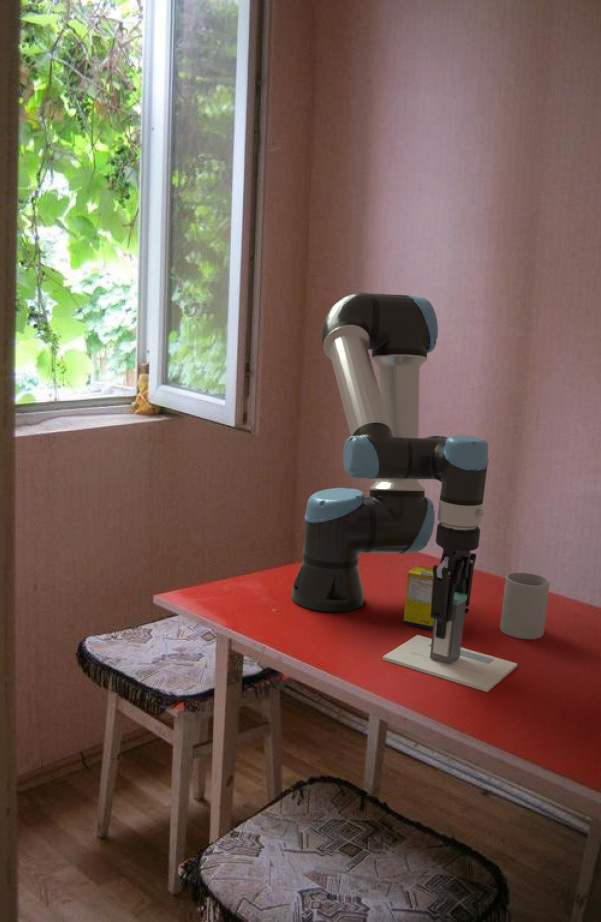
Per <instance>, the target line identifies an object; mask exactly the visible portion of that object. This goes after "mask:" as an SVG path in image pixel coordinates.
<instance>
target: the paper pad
mask: <svg viewBox="0 0 601 922" xmlns="http://www.w3.org/2000/svg"><path fill="white" fill-rule="evenodd" d="M431 643H432V638H430V637H427V636H422V635H420V634H416V635H415V636H413V637H412V638H410V639H409V640H408V641H406V642H404V643H403V644H401V645H399V646H397V647H396V648H395V649H393V650H392V651H389V652H387V653H386V654H385V655H383V656H382V660H383V661H385V662H389V663H391V664H395V665H399V666H402V667H404V668H409V669H412V670H414V671H417V672H421V673H425V674H427V675H431V676H434V677H437V678H440V679H444V680H447V681H451V682H453V683H457V684H460V685H463V686H466V687H470V688H473V689H477V690H479V691H483V692H486V693H488V692H490V690H491V689H492V688H494V687H495V686H496V685H497V684H498V683H500V682H501V681H502V680H503V679H504V678H506V677H507V676H508V675H509V674H510V673H511V672H513V671H514V670H515V669H516V668H517V667H518V663H516V662H513V661H510V660H506V659H503V658H499V657H496V656H492V655H488V654H485V653H482V652H480V651H474V650H471V649H469V648H468V649H467V648H465V647H461V650H460V658H458V659H457V660H456V661H454V662H453V663H451V664H448V663H445V662H442V661H438V660H435V659H432V658H430V653H431Z"/></svg>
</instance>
